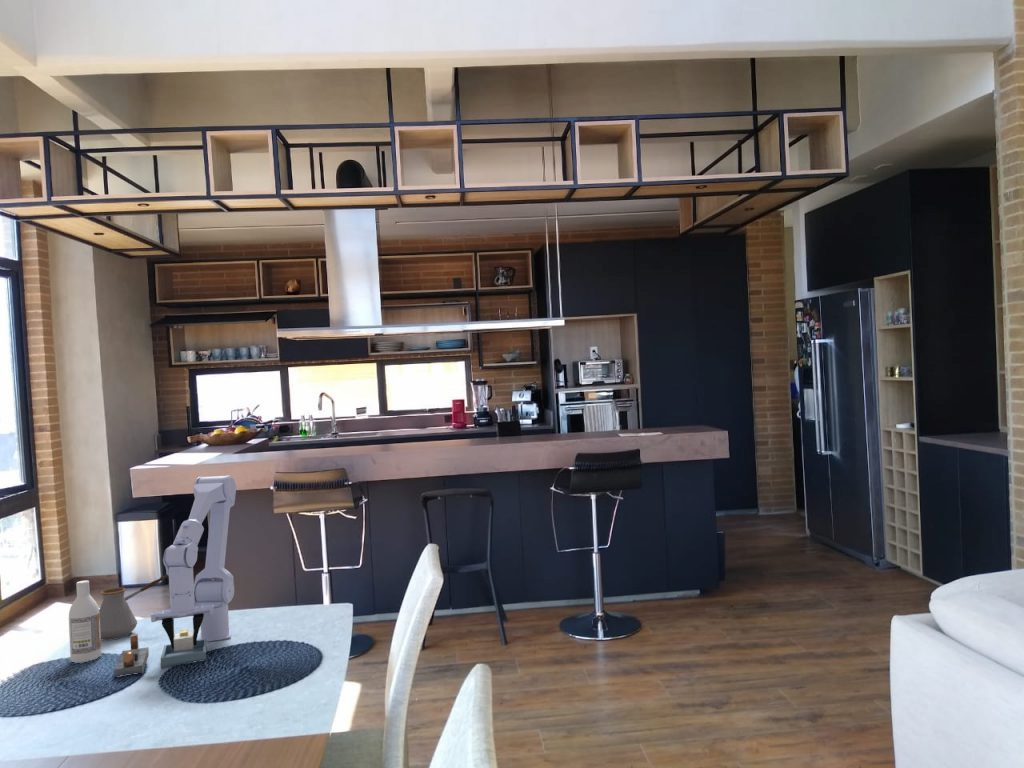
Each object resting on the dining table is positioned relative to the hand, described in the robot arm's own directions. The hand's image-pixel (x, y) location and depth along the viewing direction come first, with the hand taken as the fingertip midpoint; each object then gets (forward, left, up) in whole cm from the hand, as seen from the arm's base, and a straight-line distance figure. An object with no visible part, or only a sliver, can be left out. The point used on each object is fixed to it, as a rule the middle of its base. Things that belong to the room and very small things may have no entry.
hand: (184, 645), depth 194 cm
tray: (0, 0, -3) cm, 3 cm away
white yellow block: (0, 0, 0) cm, 0 cm away
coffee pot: (-33, -15, -3) cm, 36 cm away
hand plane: (0, -12, -3) cm, 12 cm away
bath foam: (-12, -24, -3) cm, 27 cm away
